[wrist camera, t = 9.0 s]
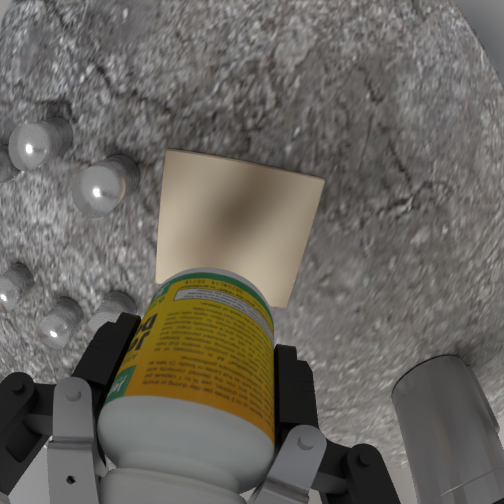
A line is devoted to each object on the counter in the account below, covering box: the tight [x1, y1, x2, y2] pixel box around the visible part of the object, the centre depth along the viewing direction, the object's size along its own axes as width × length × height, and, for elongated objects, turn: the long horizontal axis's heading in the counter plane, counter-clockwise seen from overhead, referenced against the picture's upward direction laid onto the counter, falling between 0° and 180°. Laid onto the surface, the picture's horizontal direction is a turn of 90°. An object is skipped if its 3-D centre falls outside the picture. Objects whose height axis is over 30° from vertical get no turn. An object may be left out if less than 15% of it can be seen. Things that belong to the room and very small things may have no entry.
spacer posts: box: [0, 117, 140, 350], centre depth 20 cm, size 14×19×4 cm
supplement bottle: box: [97, 267, 275, 504], centre depth 9 cm, size 5×5×10 cm
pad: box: [156, 148, 325, 309], centre depth 21 cm, size 10×10×1 cm
